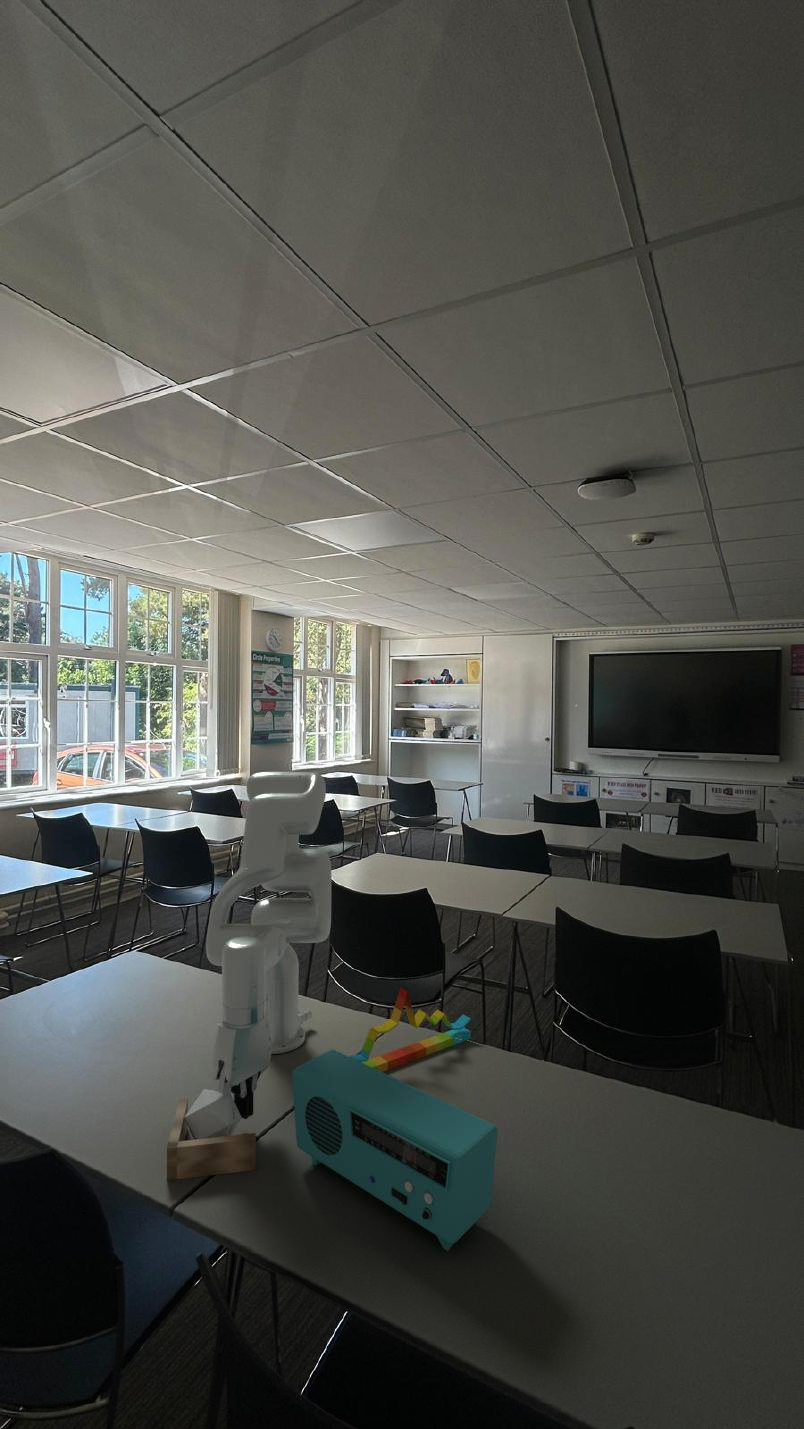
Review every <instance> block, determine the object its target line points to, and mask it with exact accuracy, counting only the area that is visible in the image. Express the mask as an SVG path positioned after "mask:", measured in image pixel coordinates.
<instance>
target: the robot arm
mask: <svg viewBox="0 0 804 1429" xmlns="http://www.w3.org/2000/svg"><path fill="white" fill-rule="evenodd" d="M326 790H327V786H326V780H325V778H324V777H323V776H322V775H321V774H320V773H318V772H315V771H261V772H256V773H253V774H252V775H250V776H249V777H248V778H247V781H246V792H247V797H248V800H249V803H248V804H247V808H246V815H245V824H244V831H243V839H242V840H243V841H242V849H241V857H240V864H239V868H238V870H236V872H235V873H233V875H232V876H231V877H230V878H229V879H228V880H227V881H226V882H225V883H224V885H223V886H222V887H221V888H220V890H219V891H218V894H217V895H216V896H215V899H214V900H213V903H212V906H211V909H210V914H209V919H208V927H207V934H206V944H205V952H206V957H207V959H208V961H209V963H211V965H214V966H218V967H221V1021H220V1022H218V1024H217V1028H216V1032H215V1037H214V1038H215V1039H214V1044H213V1045H214V1046H213V1056H212V1078H213V1079H212V1080H214V1081H218V1080H219V1082H218V1088H217V1091H218V1093H220V1094H223V1095H225V1094H229V1093H230V1094H233V1100H234V1102H235V1104H236V1107H237V1109H238V1111H239V1113H240V1115H241V1117H242V1118H241V1119H245V1120H248V1118H249V1117H251V1116H252V1117H253V1115H254V1092H255V1091H256V1090H257V1087H258V1081H259V1079H260V1077H261V1075H262V1074H263V1073H264V1072H265V1071H266V1070H267V1069H268V1068H269V1064H270V1062H271V1058H272V1055H276V1054H277V1055H278V1054H284V1053H288V1052H291V1051H293V1050H296V1049H298V1048H299V1047H300V1046H301V1045H303V1043H304V1042H305V1040H306V1032H305V1030H304V1028H302V1025H303V1024H304V1022H305V1021H306V1022H307V1020H310V1019H312V1017H313V1013H312V1011H311V1010H310V1009H307V1010H305V1011H302V1012H301V1013H300V1011H299V974H300V973H299V971H300V970H299V967H300V966H299V965H300V964H299V959H298V958H299V957H298V955H297V953H296V951H295V950H294V948H293V947H292V946H291V943H294V944H295V943H296V944H300V943H301V944H308V943H309V944H310V943H313V944H315V943H317V944H318V943H321V942H324V941H326V939H327V938H328V937H329V935H330V932H331V927H332V926H331V925H332V864H331V859H330V856H329V854H328V853H327V852H326V851H325V850H323V849H318V848H301V847H300V844H299V843H300V840H299V839H300V835H301V836H303V835H304V836H305V835H307V836H308V835H312V834H314V833H315V831H317V830H316V829H317V828H318V826H319V822H320V819H321V814H322V811H323V808H324V804H325V799H326V795H327V791H326ZM258 886H261V887H262V888H263V889H265V890H266V891H268V892H269V891H270V892H279V893H282V892H283V893H294V892H295V893H308V895H310V898H309V897H308V898H307V897H303V898H301V897H300V898H299V897H269V898H265V899H262V900H260V901H258V902H257V903H256V904H255V905H254V906H253V908H252V911H251V918H250V920H251V921H250V923H227V920H228V916H229V913H230V910H231V907H232V906H233V904H234V903H235V902H236V901H237V900H238V899H239V897H241V896H242V895H243V894H245V893H247V892H248V891H250V890H252V889H253V888H254V889H255V888H256V887H258Z"/></svg>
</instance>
